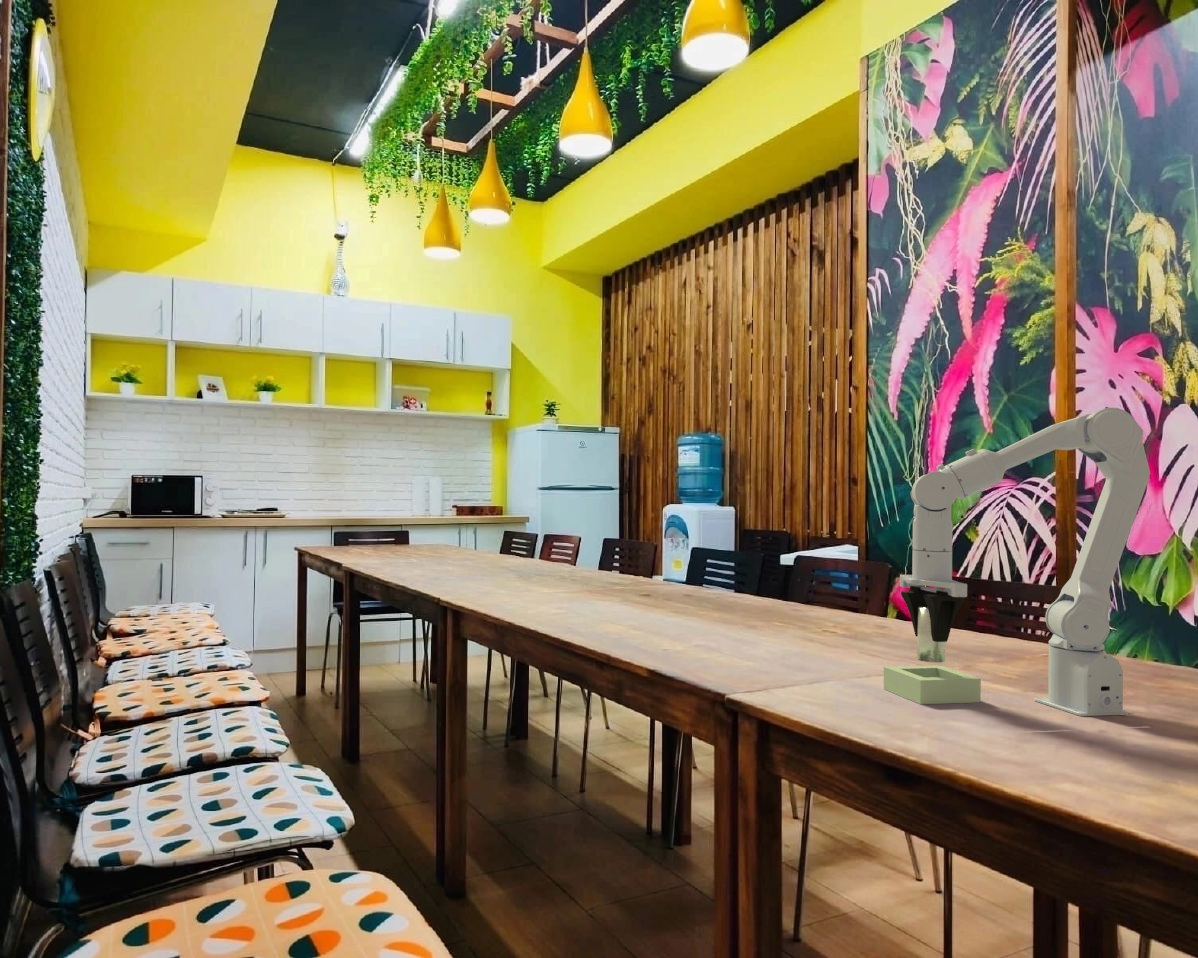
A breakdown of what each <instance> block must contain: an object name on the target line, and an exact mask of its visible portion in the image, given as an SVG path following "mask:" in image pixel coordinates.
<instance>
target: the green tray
mask: <svg viewBox="0 0 1198 958" xmlns="http://www.w3.org/2000/svg"><path fill="white" fill-rule="evenodd" d="M981 679H982V678H980V677H977V676H974V675H971V674H967V673H964V672H962V671H960V670H959V671H958V670H955V669H953V668H949V667H946V666H942V665H907V666H905V665H904V666H902V665H901V666H883V690H885V691H888V692H890V693H892V694H895V695H897V696H900V697H902V698H904V699H906V700H909V701H911V702H914V703H916V704H919V705H939V704H941V705H943V704H966V703H981V700H982V699H981V698H982V697H981V691H982V690H981V688H982V687H981V685H982V684H981V683H982V682H981Z"/></svg>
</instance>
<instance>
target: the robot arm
mask: <svg viewBox="0 0 1198 958" xmlns="http://www.w3.org/2000/svg"><path fill="white" fill-rule="evenodd" d="M1143 436H1144V430H1143V428H1142V427H1141V426H1140V424H1139V423H1138V422H1137V421H1136V419H1134V417H1133V416H1132V415H1131V414H1130V413H1129V412H1128V411H1126V410H1124V409H1122V408H1119V407H1105V408H1102V409H1099V410H1098V411H1096V412H1093V413H1087V414H1085V415H1081V416H1077V417H1074V418H1070V419H1067V420H1065V421H1061V422H1058V423H1054V424H1052V425H1049V426H1047V427H1045V428H1043V429H1041V430H1039V431H1037V432H1035V433H1033V434H1031V435H1029V436H1027V437H1024V438H1022V439H1021V440H1019V441H1016V442H1014V443H1013V444H1010V445H1008V446H1006V447H1004V448H1001V449H1000V450H998V451H992V450H988V449H985V448H981V449H979V450H977V451H976V448H972V449H969V450H967V451H965V456H963V457H962V458H959V459H956V460H955V461H952V462H950V463H949V464H946V465H944V464H943V463H940V464H938V465H937V466H936V471H935V470H934V471H929V472H928V473H927V474H923V475H921V476H919V477H918V478H917V479H916V480H915V481H914V482H913V485H912V487H911V488H912V489H911V491H910V492H909V493H910V497H911V500H912V502H913V504H914V508H913V516H914V519H913V520H912V558H911V559H912V563H911V564H912V567H911V568H912V569H911V571H912V572H911V573H912V574H900V575H899V587H901V588H909V589H908V590H902V591H900V595H901V598H902V600H903V601H904V603H905V605H906V607H907V610H908V613H909V614H910V615H909V616H910V620H911V623H912V627H913V630H914V636H915V637H917V638H918V607H920V606H927V607H928V610H929V615H930V622H931V635H932V639H933V641H934V642H945V643H947V642H948V640H949V636H950V633H951V629H952V626H953V623H954V620H955V618H956V615H957V613H958V612H959V610H960V608H961V607H962V605H963V604H964V601H965V598H967V597H968V583H964V582H959V581H957V580H954V579H953V577H952V576H953V525H954V524H953V521H952V506H953V504H954V503H955V502H956V499H959V500H964V499H966V498H968V497H970V496H972V495H974V494H977V493H979V492H980V493H981V491H984V490H986V489H988V488H990V487H992V486H993V487H994V486H995V485H998V484H1000V483H1001V482H1002V481H1003V477H1004V474H1005V473H1006V471H1007V470H1010V469H1012V468H1014V467H1017V466H1020V465H1021V464H1023V463H1026V462H1029V461H1031V460H1034V459H1036V458H1038V457H1040V456H1043V455H1045V454H1048V453H1050V452H1052V451H1055V450H1060V451H1061V450H1062V451H1073V450H1077V451H1079V452H1080V453H1081V454H1082V455H1084V456H1086V458H1088V459H1090V460H1091V461H1092V462H1094V464H1095V465H1096V467H1097V468H1098V470H1099V472H1101V474H1102V475H1103V477H1104V478H1105V482H1104V484H1103V486H1102V490H1101V493H1100V496H1099V498H1098V501H1097V503H1096V507H1095V510H1094V512H1093V515H1092V518H1091V521H1090V523H1089V526H1088V529H1087V531H1086V535H1085V538H1084V539H1083V540H1084V541H1083V543H1082V545H1081V549H1080V551H1079V555H1078V557H1077V559H1076V563H1075V565H1074V568H1073V571H1072V574H1071V577H1070V578H1069V580H1067V582H1066V583H1065V584H1064V585H1063V587H1062V588H1061V589H1060V593H1059V595H1058V597H1057V598H1056V599H1055V601H1053V602H1052V603H1051V604H1049V606H1048V608H1047V609H1046V612H1045V615H1044V617H1045V618H1044V619H1045V623H1046V624H1045V625H1046V627H1047V629H1048V630H1049V632H1051V634H1052V635H1051V638H1050V639H1049V640H1048V675H1047V676H1048V677H1047V678H1048V682H1047V683H1048V684H1047V685H1048V686H1047V687H1048V688H1047V689H1048V690H1047V692H1048V695H1047V697H1046V696H1045V697H1034V702H1036V703H1037V702H1038V703H1039V704H1043V705H1046V706H1049V707H1051V708H1054V709H1058V710H1061V711H1064V712H1067V713H1070V714H1073V715H1076V716H1079V717H1097V716H1098V717H1100V716H1101V717H1102V716H1124V715H1128V711H1127V710H1124V709H1123V708H1124V706H1123V705H1124V704H1123V703H1124V701H1123V699H1124V698H1123V695H1124V694H1123V693H1124V690H1123V689H1124V688H1123V687H1124V683H1123V682H1124V674H1123V669H1122V668H1123V667H1122V665H1121V663H1120V662H1119V660H1118V659H1117V658H1115V657H1114V656H1112V655H1110V654H1107V651H1106V650H1105V643H1104V642H1105V641H1106V640H1107V638H1108V636H1109V633H1110V629H1111V627H1110V621H1109V613H1110V609H1111V606H1112V601H1111V594H1110V588H1111V585H1112V582H1113V580H1114V577H1115V574H1116V571H1117V569H1118V566H1119V563H1120V560H1121V558H1122V555H1123V551H1124V550H1125V546H1126V543H1127V540H1128V539H1129V535H1130V533H1131V531H1132V527H1133V526H1134V525H1133V524H1134V522H1135V519H1136V516H1137V512H1138V510H1139V507H1140V505H1141V502H1142V499H1143V496H1144V495H1145V491H1146V488H1147V486H1148V483H1149V480H1150V475H1151V470H1150V466H1149V463H1148V458H1147V454H1146V451H1145V446H1144V443H1143V439H1144V438H1143Z"/></svg>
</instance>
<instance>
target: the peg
mask: <svg viewBox="0 0 1198 958" xmlns="http://www.w3.org/2000/svg"><path fill="white" fill-rule="evenodd" d="M916 649H917V651H916V653H917V659H916V660H917V661H920V662H921V661H922V662H927V663H938V664H939V663H945V662H946V642H934V641H933V639H932V635H931V622H930V615H929V610H928V607H927V606H920V607H918V637H917V647H916Z"/></svg>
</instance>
